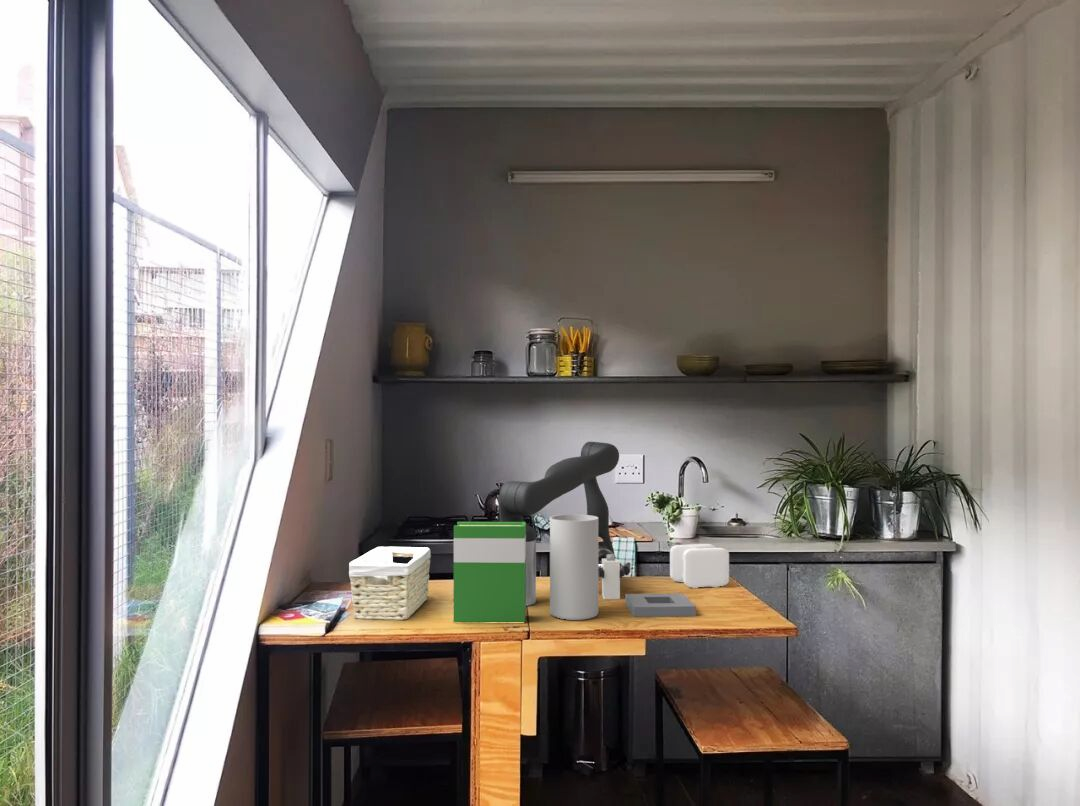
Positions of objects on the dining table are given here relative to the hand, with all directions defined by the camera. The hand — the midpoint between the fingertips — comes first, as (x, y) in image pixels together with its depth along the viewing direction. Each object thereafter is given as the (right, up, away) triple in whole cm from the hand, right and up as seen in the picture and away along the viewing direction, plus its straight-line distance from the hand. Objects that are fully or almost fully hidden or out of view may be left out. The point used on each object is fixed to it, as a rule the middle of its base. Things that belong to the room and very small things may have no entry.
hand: (612, 574), depth 213 cm
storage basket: (-60, -7, -10) cm, 61 cm away
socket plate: (+11, -7, -11) cm, 17 cm away
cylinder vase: (-11, -7, -16) cm, 21 cm away
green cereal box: (-33, -7, -20) cm, 39 cm away
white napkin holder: (+28, -8, +19) cm, 35 cm away
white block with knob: (0, -7, +3) cm, 8 cm away
